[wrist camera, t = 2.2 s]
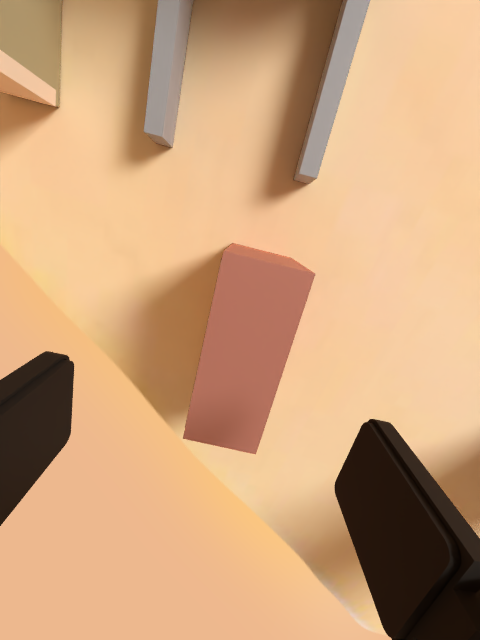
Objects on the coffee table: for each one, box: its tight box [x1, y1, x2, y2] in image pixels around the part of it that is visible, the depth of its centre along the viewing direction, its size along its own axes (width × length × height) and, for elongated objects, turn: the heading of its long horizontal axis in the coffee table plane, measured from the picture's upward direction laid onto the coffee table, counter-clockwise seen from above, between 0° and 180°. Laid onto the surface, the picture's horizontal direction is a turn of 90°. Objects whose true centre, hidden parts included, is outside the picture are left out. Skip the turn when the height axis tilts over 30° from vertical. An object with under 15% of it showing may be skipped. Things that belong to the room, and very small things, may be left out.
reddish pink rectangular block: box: [183, 243, 315, 454], centre depth 16 cm, size 4×10×7 cm, turn 166°
